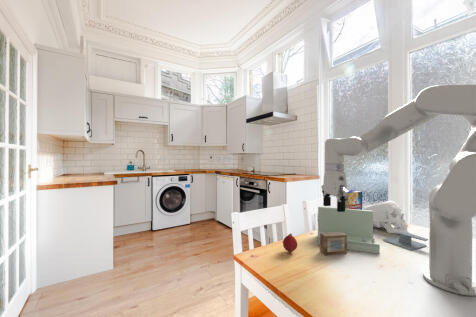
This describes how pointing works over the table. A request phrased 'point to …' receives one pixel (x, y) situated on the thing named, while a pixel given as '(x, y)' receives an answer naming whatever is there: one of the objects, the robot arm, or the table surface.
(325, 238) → the frame
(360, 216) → the ledge
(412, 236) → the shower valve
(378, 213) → the skull planter
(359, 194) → the beverage box
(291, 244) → the onion
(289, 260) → the table surface
